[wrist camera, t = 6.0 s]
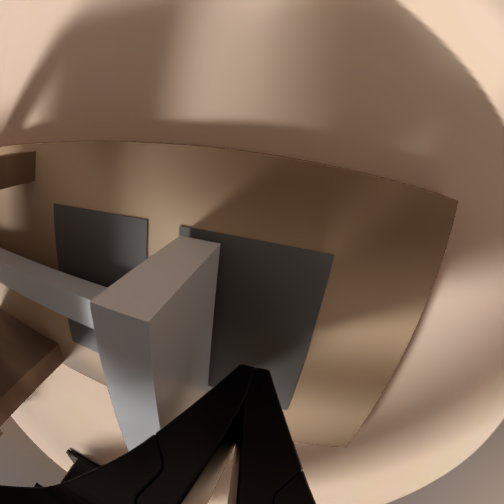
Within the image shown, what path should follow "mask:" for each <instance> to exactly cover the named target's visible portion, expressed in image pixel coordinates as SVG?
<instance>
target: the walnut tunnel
mask: <svg viewBox="0 0 504 504" xmlns="http://www.w3.org/2000/svg"><path fill="white" fill-rule="evenodd" d="M35 167H36V151H29V152H17V153H10V154H4V155H0V190H1V189H5V188H9V187H12V186H16V185H20V184H25V183H29V182H33V181H35ZM63 362H64V359H63V356H62V353H61V349H60V346H59V344H58V343H57V342H55V341H53V340H51V339H49V338H47V337H46V336H44V335H42V334H40V333H39V332H37V331H35V330H34V329H32V328H30V327H29V326H27V325H25V324H24V323H22V322H21V321H19V320H17V319H16V318H14V317H13V316H11V315H10V314H8V313H7V312H5V311H4V310H2V309H1V308H0V426H1V425H2V424H3V423H4V422H5V421H6V420H7V419H8V418H9V416H11V414H12V413H13V412H14V411H15V410H16V409H17V408H18V407H19V406H20V405H21V404H22V403H23V402H24V401H25V400H26V399H27V398H28V397H29V396H30V395H31V394H32V393H33V392H34V391H35V389H36V388H37V387H38V386H39V385H40V384H41V383H42V382H43V381H44V380H45V379H46V378H47V377H48V376H49V375H50V374H51V373H52V372H53V371H54V370H55V369H56V368H57V367H59V366H60V365H61V364H62V363H63ZM2 434H3V433H2V432H1V430H0V436H1V435H2Z"/></svg>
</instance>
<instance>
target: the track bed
mask: <svg viewBox="0 0 504 504" xmlns="http://www.w3.org/2000/svg"><path fill="white" fill-rule="evenodd" d="M29 151H36V167H35V181H33V182H29V183H25V184H20V185H16V186H12V187H9V188H5V189H1V190H0V248H3V249H5V250H7V251H10V252H12V253H14V254H17V255H19V256H22V257H24V258H27V259H29V260H32V261H34V262H37V263H39V264H42V265H45V266H47V267H50V268H53V269H55V270H58V271H61V272H64V273H66V274H69V275H72V276H75V277H78V278H80V279H83V280H86V281H89V282H92V283H95V284H98V285H101V286H104V287H107V288H108V287H109V286H111V285H112V284H113V283H115V282H116V281H117V280H119V279H120V278H122V277H123V276H124V275H126V274H127V273H128V272H130V271H131V270H132V269H134V268H135V267H136V266H138V265H139V264H141V263H142V262H143V261H145V260H146V259H148V258H149V257H150V256H152V255H153V254H155V253H156V252H157V251H159V250H160V249H162V248H163V247H165V246H166V245H167V244H169V243H170V242H172V241H173V240H175V239H176V238H177V237H179V236H184V237H189V238H194V239H200V240H205V241H210V242H215V243H220V244H221V245H220V254H219V264H218V273H217V284H216V294H215V305H214V316H213V328H212V340H211V352H210V366H209V380H208V391H209V390H211V389H212V388H213V387H214V386H215V385H217V384H218V383H219V382H220V381H221V380H222V379H224V378H225V377H226V376H227V375H228V374H229V373H231V372H232V371H233V370H234V369H235V368H236V367H237V366H239V365H240V364H244V365H248V366H253V367H254V368H256V367H257V368H262V369H267V370H269V371H270V373H271V376H272V379H273V382H274V386H275V389H276V392H277V395H278V398H279V401H280V404H281V407H282V410H283V413H284V416H285V419H286V422H287V425H288V428H289V431H290V434H291V437H292V440H293V442H300V443H307V444H316V445H325V446H336V447H347V445H348V444H349V443H350V441H351V440H352V438H353V437H354V436H355V434H356V433H357V431H358V430H359V428H360V427H361V425H362V424H363V422H364V421H365V419H366V418H367V416H368V415H369V413H370V412H371V410H372V408H373V407H374V405H375V404H376V402H377V400H378V399H379V397H380V395H381V394H382V392H383V390H384V389H385V387H386V385H387V383H388V382H389V380H390V378H391V376H392V374H393V372H394V371H395V369H396V367H397V365H398V363H399V361H400V359H401V357H402V355H403V353H404V351H405V349H406V347H407V345H408V343H409V341H410V339H411V337H412V335H413V332H414V330H415V328H416V326H417V324H418V321H419V319H420V317H421V314H422V312H423V310H424V307H425V305H426V302H427V300H428V297H429V295H430V292H431V290H432V287H433V284H434V282H435V279H436V276H437V273H438V270H439V267H440V264H441V261H442V258H443V255H444V252H445V249H446V246H447V242H448V239H449V235H450V232H451V228H452V224H453V221H454V217H455V213H456V209H457V204H458V201H457V200H454V199H451V198H449V197H446V196H444V195H440V194H437V193H434V192H431V191H428V190H424V189H421V188H418V187H414V186H411V185H407V184H404V183H400V182H397V181H393V180H389V179H385V178H382V177H378V176H374V175H370V174H366V173H361V172H357V171H353V170H348V169H344V168H339V167H335V166H330V165H325V164H320V163H315V162H310V161H304V160H299V159H293V158H288V157H282V156H275V155H269V154H262V153H255V152H248V151H241V150H233V149H224V148H215V147H206V146H195V145H183V144H169V143H152V142H126V141H73V142H49V143H33V144H21V145H10V146H1V147H0V155H4V154H10V153H17V152H29ZM0 308H1V309H2V310H4V311H5V312H7V313H8V314H10V315H11V316H13V317H14V318H16V319H17V320H19V321H21V322H22V323H24V324H25V325H27V326H29V327H30V328H32V329H34V330H35V331H37V332H39V333H40V334H42V335H44V336H46V337H47V338H49V339H51V340H53V341H55V342H57V343H58V344H59V346H60V349H61V353H62V356H63V359H64V362H63V364H65V365H66V366H68V367H70V368H72V369H74V370H76V371H77V372H79V373H81V374H83V375H85V376H87V377H89V378H91V379H93V380H95V381H97V382H99V383H102V384H104V385H106V386H107V384H106V380H105V376H104V372H103V368H102V364H101V360H100V355H99V351H98V346H97V341H96V336H95V331H94V329H93V328H90V327H88V326H85V325H83V324H81V323H79V322H76V321H74V320H72V319H70V318H67V317H65V316H63V315H61V314H59V313H57V312H55V311H53V310H51V309H49V308H47V307H44V306H42V305H41V304H39V303H37V302H35V301H33V300H31V299H29V298H27V297H25V296H23V295H21V294H20V293H18V292H16V291H14V290H12V289H11V288H9V287H7V286H5V285H4V284H2V283H0Z"/></svg>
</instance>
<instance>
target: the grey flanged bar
mask: <svg viewBox="0 0 504 504" xmlns="http://www.w3.org/2000/svg"><path fill="white" fill-rule="evenodd" d="M220 245H221V244H220V243H215V242H210V241H205V240H200V239H194V238H189V237H184V236H179V237H177V238H176V239H175V240H173V241H172V242H170V243H169V244H167V245H166V246H165V247H163V248H162V249H160V250H159V251H157V252H156V253H155V254H153V255H152V256H150V257H149V258H148V259H146V260H145V261H143V262H142V263H141V264H139V265H138V266H136V267H135V268H134V269H132V270H131V271H130V272H128V273H127V274H126V275H124V276H123V277H122V278H120V279H119V280H117V281H116V282H115V283H113V284H112V285H111V286H109V287H108V288H107V287H104V286H101V285H98V284H95V283H92V282H89V281H86V280H83V279H80V278H78V277H75V276H72V275H69V274H66V273H64V272H61V271H58V270H55V269H53V268H50V267H47V266H45V265H42V264H39V263H37V262H34V261H32V260H29V259H27V258H24V257H22V256H19V255H17V254H14V253H12V252H10V251H7V250H5V249H3V248H0V283H2V284H4V285H5V286H7V287H9V288H11V289H12V290H14V291H16V292H18V293H20V294H21V295H23V296H25V297H27V298H29V299H31V300H33V301H35V302H37V303H39V304H41V305H42V306H44V307H47V308H49V309H51V310H53V311H55V312H57V313H59V314H61V315H63V316H65V317H67V318H70V319H72V320H74V321H76V322H79V323H81V324H83V325H85V326H88V327H90V328H93V329H94V331H95V336H96V341H97V346H98V351H99V355H100V360H101V364H102V368H103V372H104V376H105V380H106V384H107V387H108V391H109V395H110V398H111V401H112V405H113V408H114V411H115V414H116V417H117V420H118V423H119V426H120V429H121V432H122V435H123V438H124V440H125V443H126V446H127V448H128V451H130V450H132V449H133V448H135V447H136V446H138V445H139V444H141V443H142V442H144V441H145V440H147V439H148V438H149V437H151V436H152V435H156V432H158V431H159V430H160V429H162V428H163V427H164V426H165V425H167V424H168V423H169V422H171V421H172V420H173V419H175V418H176V417H177V416H178V415H180V414H181V413H182V412H183V411H185V410H186V409H187V408H189V407H190V406H191V405H192V404H194V403H195V402H196V401H197V400H198V399H200V398H201V397H202V396H203V395H205V394H206V393H207V392H208V380H209V366H210V352H211V340H212V328H213V316H214V305H215V294H216V284H217V273H218V264H219V254H220Z"/></svg>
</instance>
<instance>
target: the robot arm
mask: <svg viewBox="0 0 504 504" xmlns="http://www.w3.org/2000/svg"><path fill="white" fill-rule="evenodd" d="M235 444H236V445H235ZM234 446H235V452H234V460H233V467H232V475H231V482H230V490H229V497H228V504H316V502H315V500H314V498H313V495H312V493H311V490H310V488H309V485H308V483H307V480H306V477H305V474H304V472H303V471H302V466H301V463H300V460H299V457H298V454H297V451H296V448H295V446H294V443H293V440H292V437H291V434H290V431H289V428H288V425H287V422H286V419H285V416H284V413H283V410H282V407H281V404H280V401H279V398H278V395H277V392H276V389H275V386H274V382H273V379H272V376H271V373H270V371H269V370H267V369H262V368H257V367H256V368H254V367H253V366H248V365H244V364H240V365H239V366H237V367H236V368H235V369H234V370H233V371H232V372H231V373H229V374H228V375H227V376H226V377H225V378H224V379H222V380H221V381H220V382H219V383H218V384H217V385H215V386H214V387H213V388H212V389H211V390H209V391H208V392H207V393H206V394H205V395H203V396H202V397H201V398H200V399H198V400H197V401H196V402H195V403H194V404H192V405H191V406H190V407H189V408H187V409H186V410H185V411H183V412H182V413H181V414H180V415H178V416H177V417H176V418H175V419H173V420H172V421H171V422H169V423H168V424H167V425H165V426H164V427H163V428H162V429H160V430H159V431H158V432H156V435H152V436H151V437H149V438H148V439H147V440H145V441H144V442H142V443H141V444H139V445H138V446H136V447H135V448H133V449H132V450H130V451H129V452H127V453H126V454H124V455H122V456H120V457H118V458H117V459H115V460H113V461H111V462H109V463H107V464H105V465H103V466H101V467H98V466H96V465H94V464H93V463H91V462H89V461H87V460H86V459H84V458H82V457H80V456H79V455H77V454H75V453H74V452H72V451H71V450H67V452H66V453H67V454H68V456H69V457H70V458H71V460H72V461H73V463H74V464H73V465H72V467H71V468H70V470H69V471H68V472H67V474H66V475H65V477H64V478H63V480H62V481H61V483H60V484H58V485H54V486H49V487H43V486H41V485H39V484H38V483H36V485H35V486H34V487H13V486H1V485H0V504H207V503H208V501H209V499H210V497H211V495H212V493H213V491H214V489H215V487H216V485H217V483H218V481H219V479H220V476H221V474H222V472H223V470H224V468H225V466H226V464H227V462H228V459H229V457H230V455H231V453H232V451H233V448H234Z"/></svg>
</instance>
